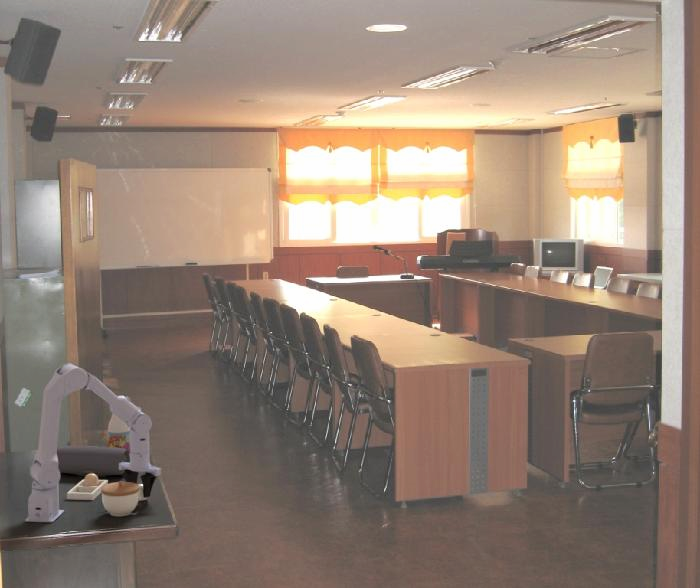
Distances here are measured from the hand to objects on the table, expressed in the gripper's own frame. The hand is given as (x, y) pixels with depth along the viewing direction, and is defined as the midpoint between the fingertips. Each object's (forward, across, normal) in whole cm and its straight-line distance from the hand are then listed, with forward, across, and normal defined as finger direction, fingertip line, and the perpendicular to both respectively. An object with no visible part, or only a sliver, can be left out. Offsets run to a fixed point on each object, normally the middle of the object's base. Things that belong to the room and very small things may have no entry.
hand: (140, 495), depth 293 cm
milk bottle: (+2, +34, -31) cm, 46 cm away
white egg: (+2, 0, 0) cm, 2 cm away
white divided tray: (+1, +18, +3) cm, 18 cm away
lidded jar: (+2, -3, +12) cm, 12 cm away
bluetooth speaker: (+2, +30, -12) cm, 32 cm away
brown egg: (+1, +19, 0) cm, 19 cm away
